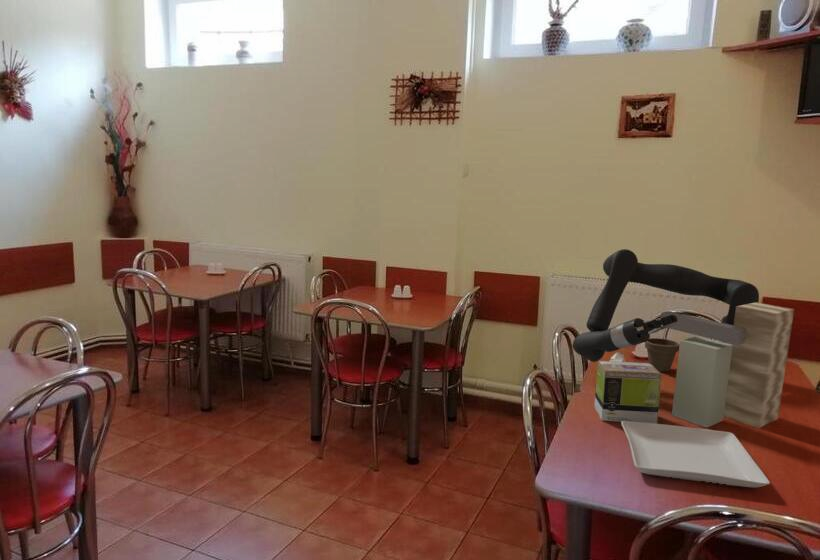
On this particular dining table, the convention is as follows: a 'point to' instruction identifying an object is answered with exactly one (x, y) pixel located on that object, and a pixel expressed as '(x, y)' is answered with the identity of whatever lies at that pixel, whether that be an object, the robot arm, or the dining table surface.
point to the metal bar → (707, 328)
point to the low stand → (702, 380)
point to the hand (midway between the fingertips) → (679, 317)
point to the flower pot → (661, 353)
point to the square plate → (692, 454)
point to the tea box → (627, 391)
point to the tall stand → (758, 364)
